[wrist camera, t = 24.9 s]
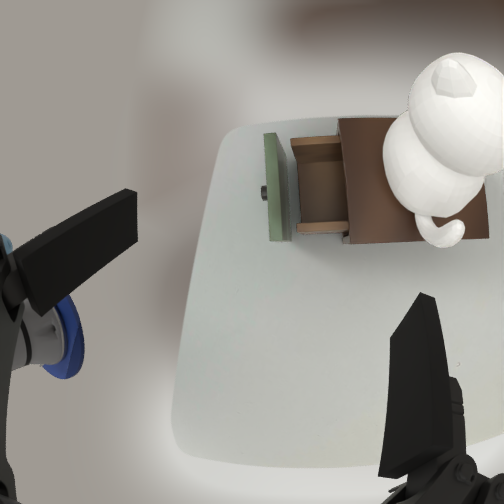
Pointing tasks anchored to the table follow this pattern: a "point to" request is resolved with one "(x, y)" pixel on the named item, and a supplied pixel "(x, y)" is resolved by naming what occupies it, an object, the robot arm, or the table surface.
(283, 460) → the table surface
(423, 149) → the cat figurine
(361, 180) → the cabinet
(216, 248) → the table surface
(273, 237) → the drawer
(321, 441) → the table surface
